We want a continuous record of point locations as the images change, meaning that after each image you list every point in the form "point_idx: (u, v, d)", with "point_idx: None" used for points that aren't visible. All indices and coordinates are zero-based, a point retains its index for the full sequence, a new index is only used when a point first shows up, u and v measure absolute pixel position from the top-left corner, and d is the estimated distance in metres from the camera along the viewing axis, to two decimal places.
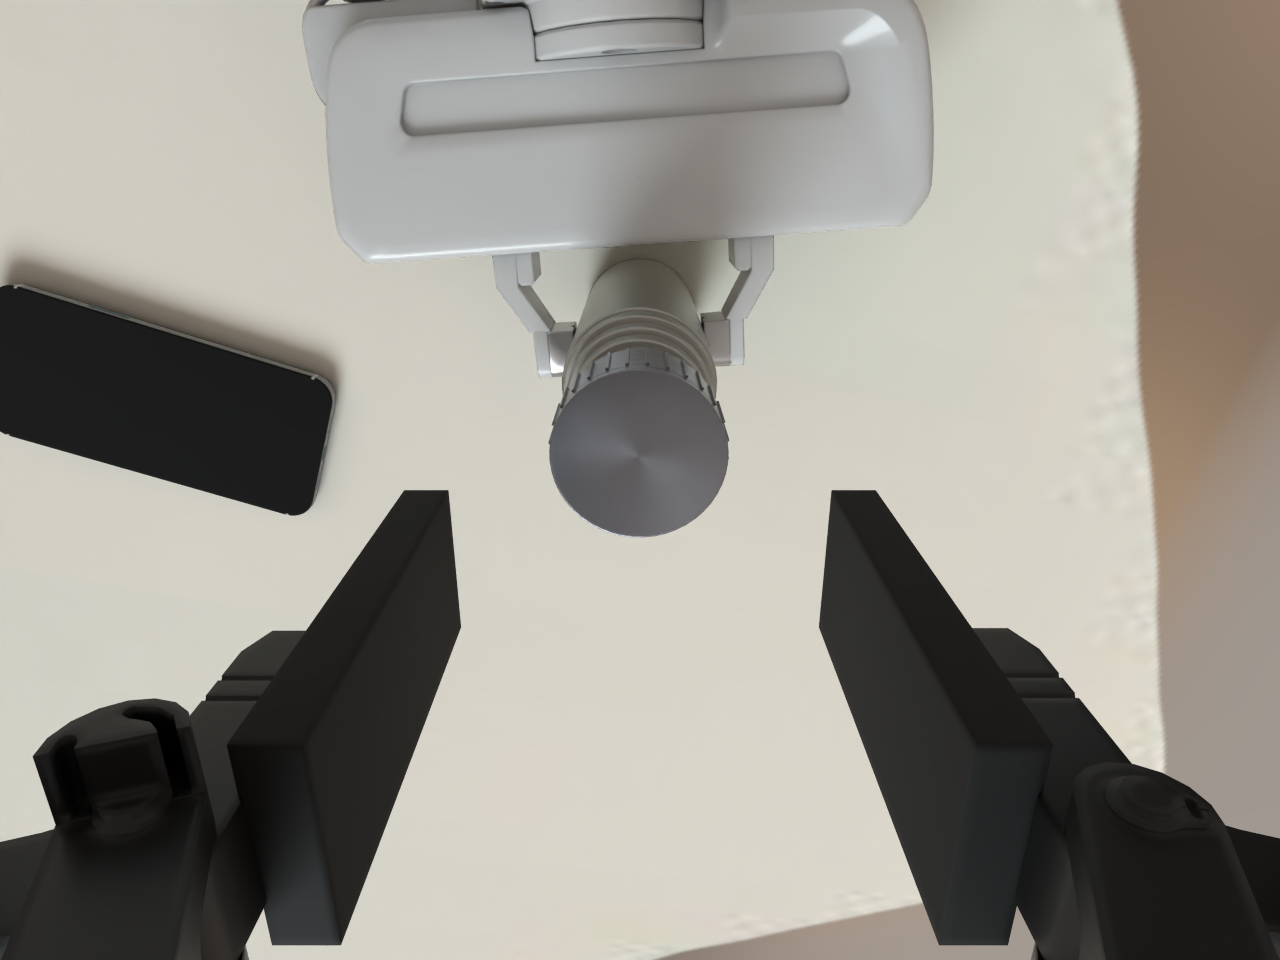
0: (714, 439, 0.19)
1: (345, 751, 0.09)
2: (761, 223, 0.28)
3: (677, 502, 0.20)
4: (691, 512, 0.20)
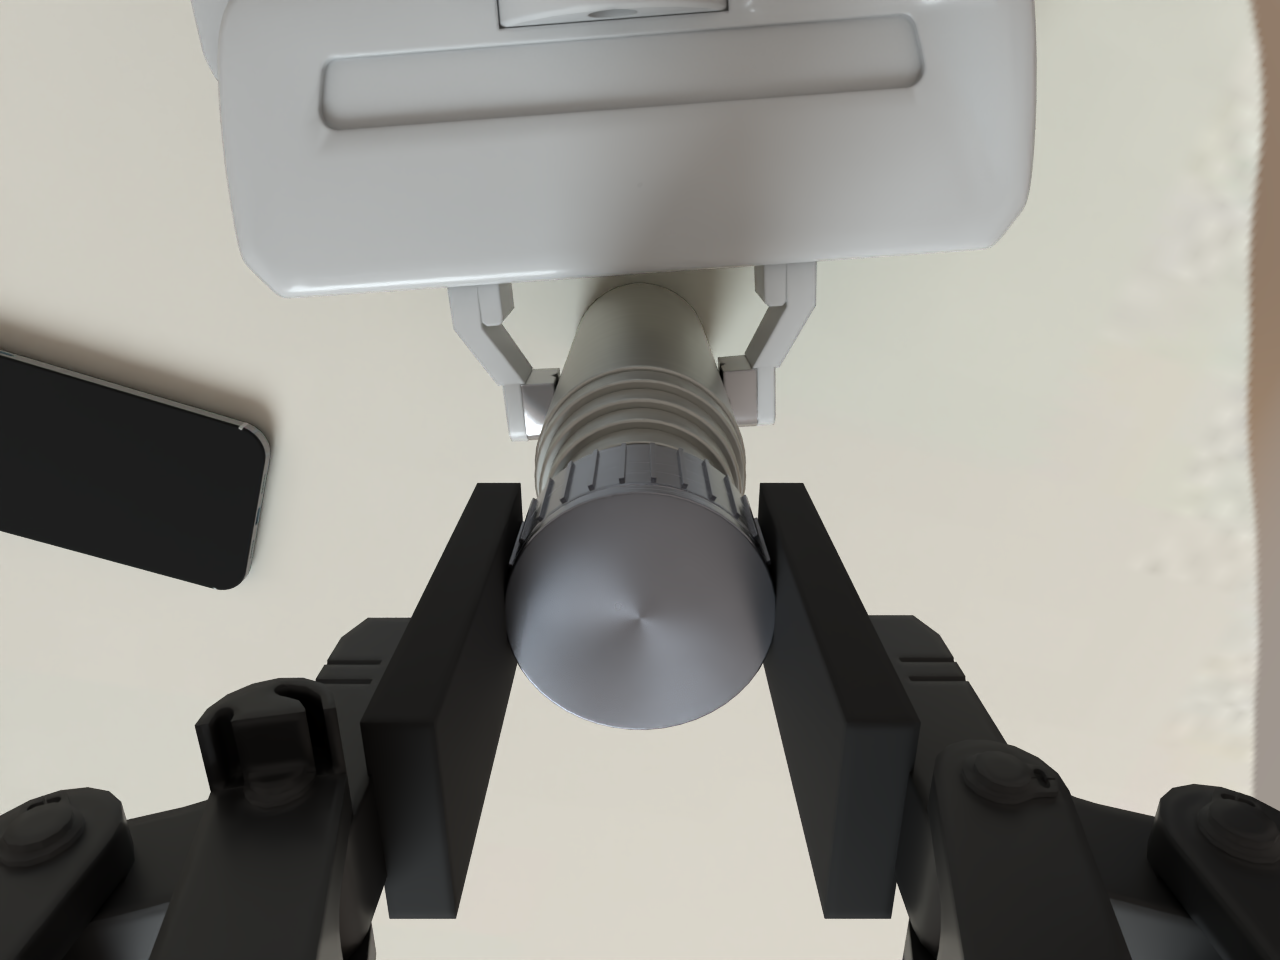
0: (756, 593, 0.13)
1: (457, 732, 0.09)
2: (801, 246, 0.21)
3: (698, 682, 0.13)
4: (719, 695, 0.13)
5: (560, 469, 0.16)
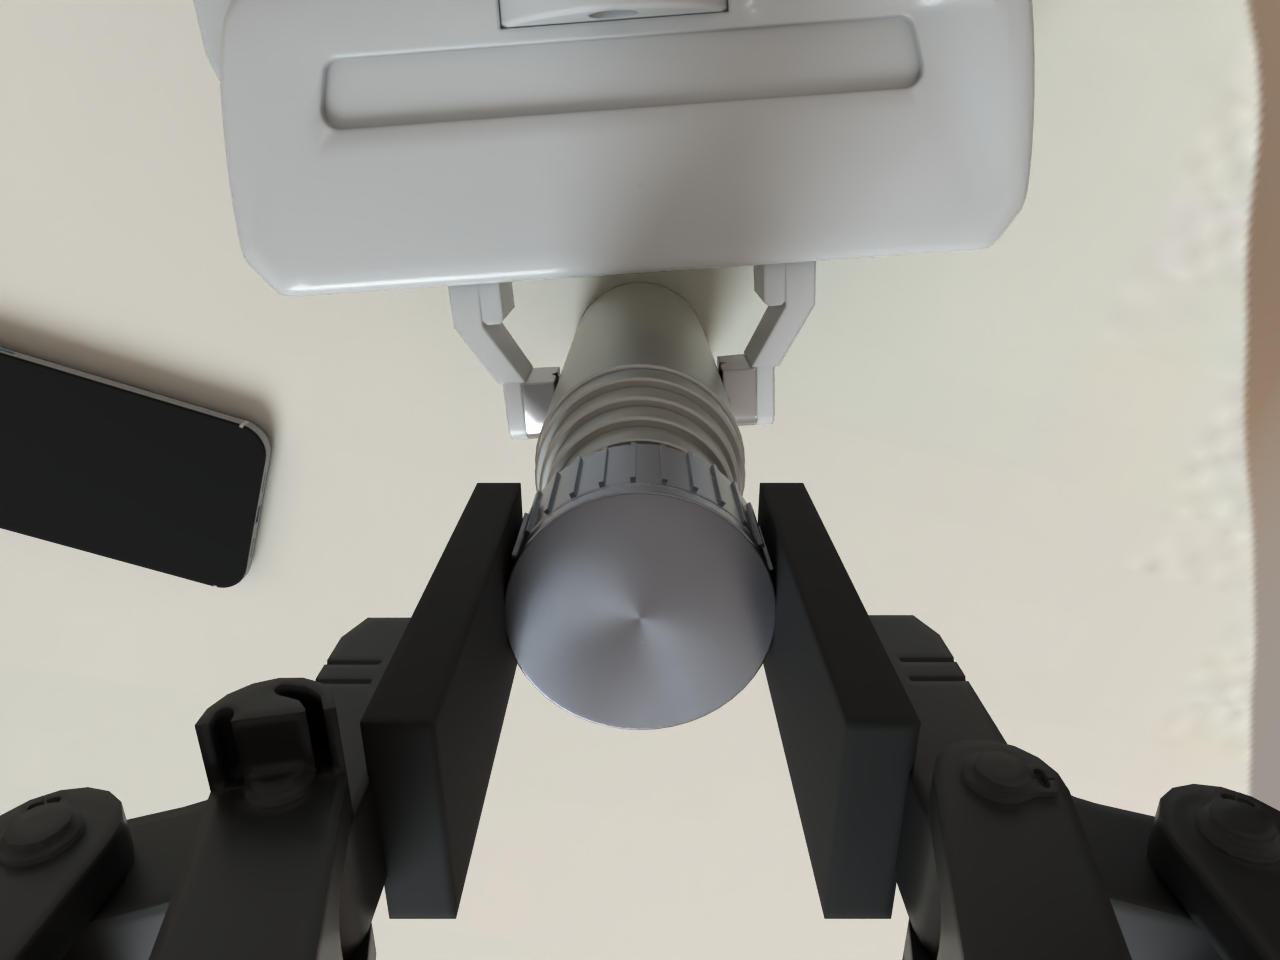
0: (548, 547, 0.12)
1: (458, 732, 0.09)
2: (801, 246, 0.21)
3: (670, 535, 0.12)
4: (673, 506, 0.12)
5: (560, 467, 0.16)
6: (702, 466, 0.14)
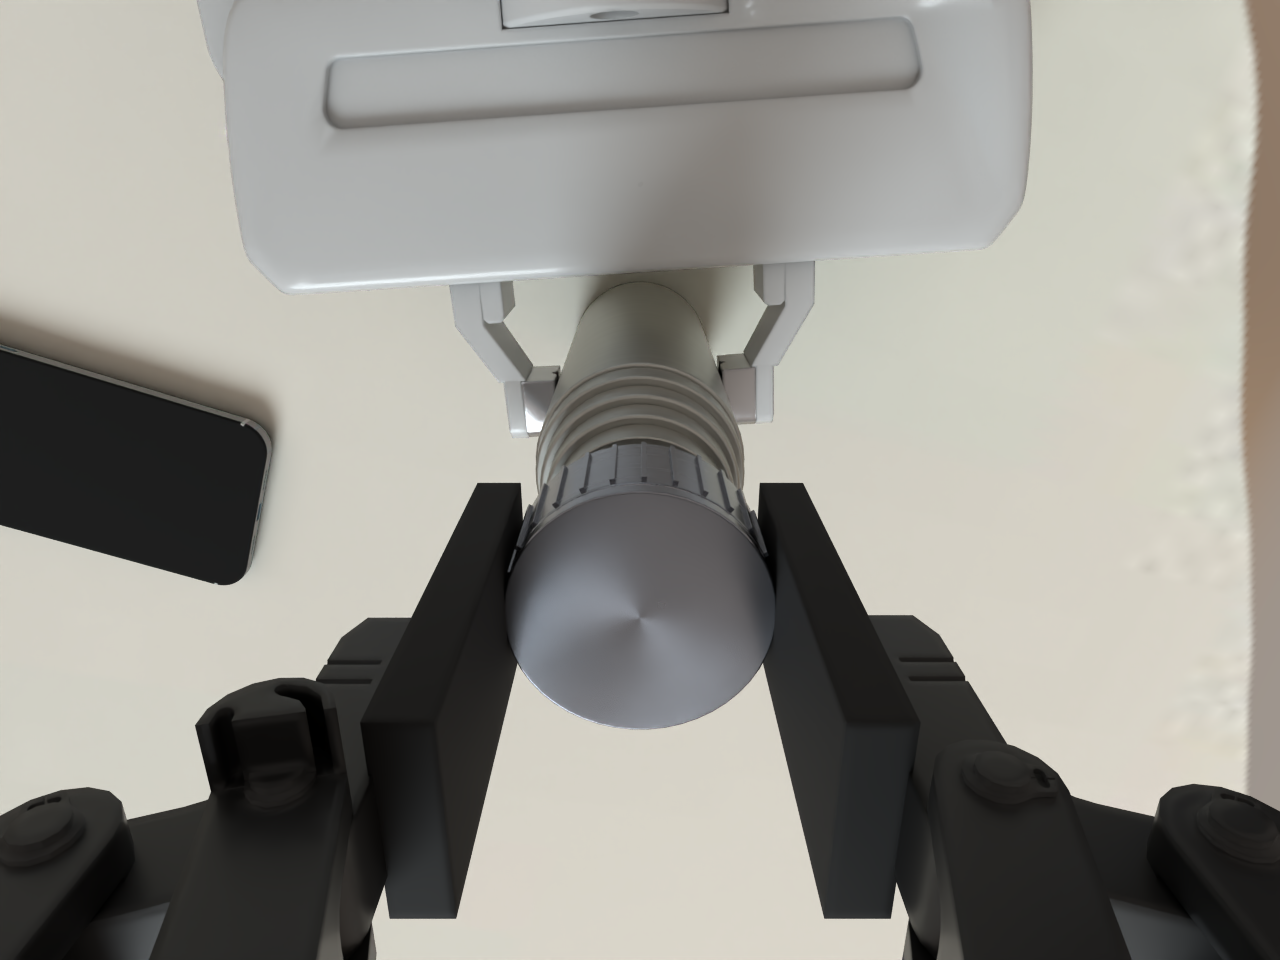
0: (624, 715, 0.13)
1: (458, 732, 0.09)
2: (800, 245, 0.21)
3: (548, 642, 0.13)
4: (524, 652, 0.13)
5: (561, 464, 0.16)
6: None
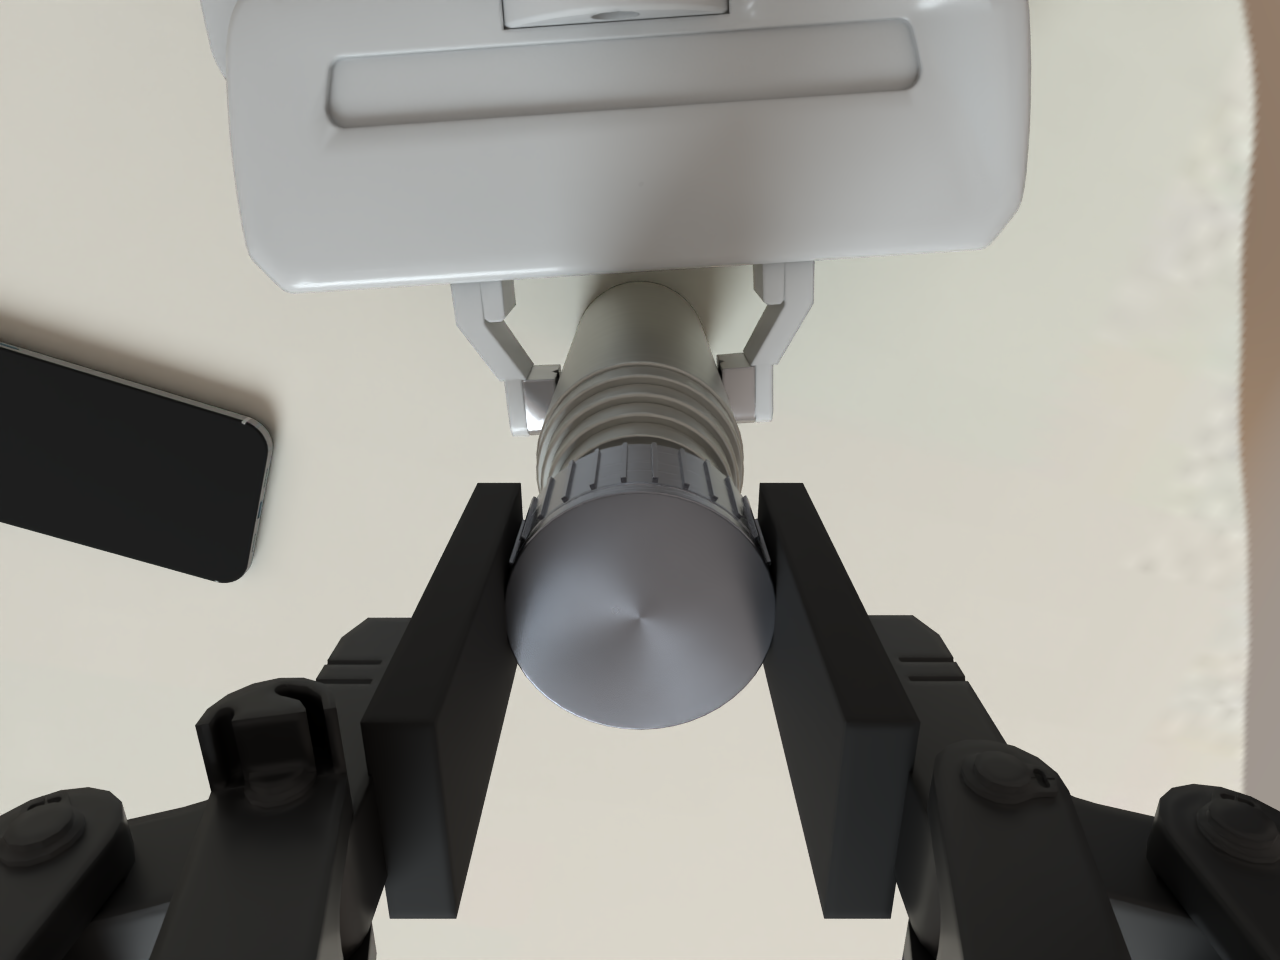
0: (748, 572, 0.12)
1: (458, 732, 0.09)
2: (799, 245, 0.21)
3: (713, 670, 0.13)
4: (737, 679, 0.13)
5: (562, 462, 0.17)
6: None
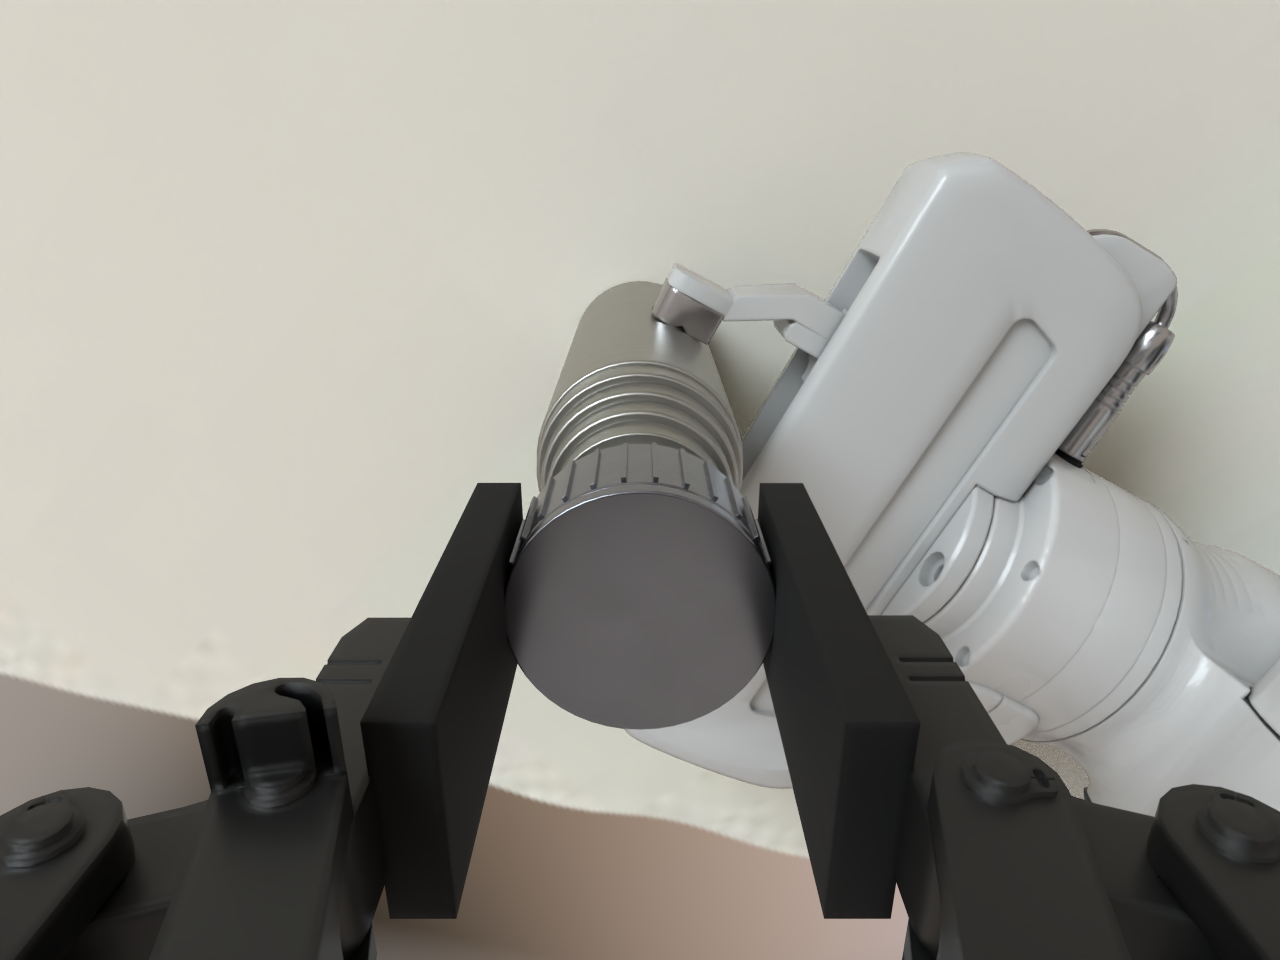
0: (749, 572, 0.12)
1: (459, 732, 0.09)
2: None
3: (712, 670, 0.13)
4: (737, 679, 0.13)
5: (719, 464, 0.17)
6: None
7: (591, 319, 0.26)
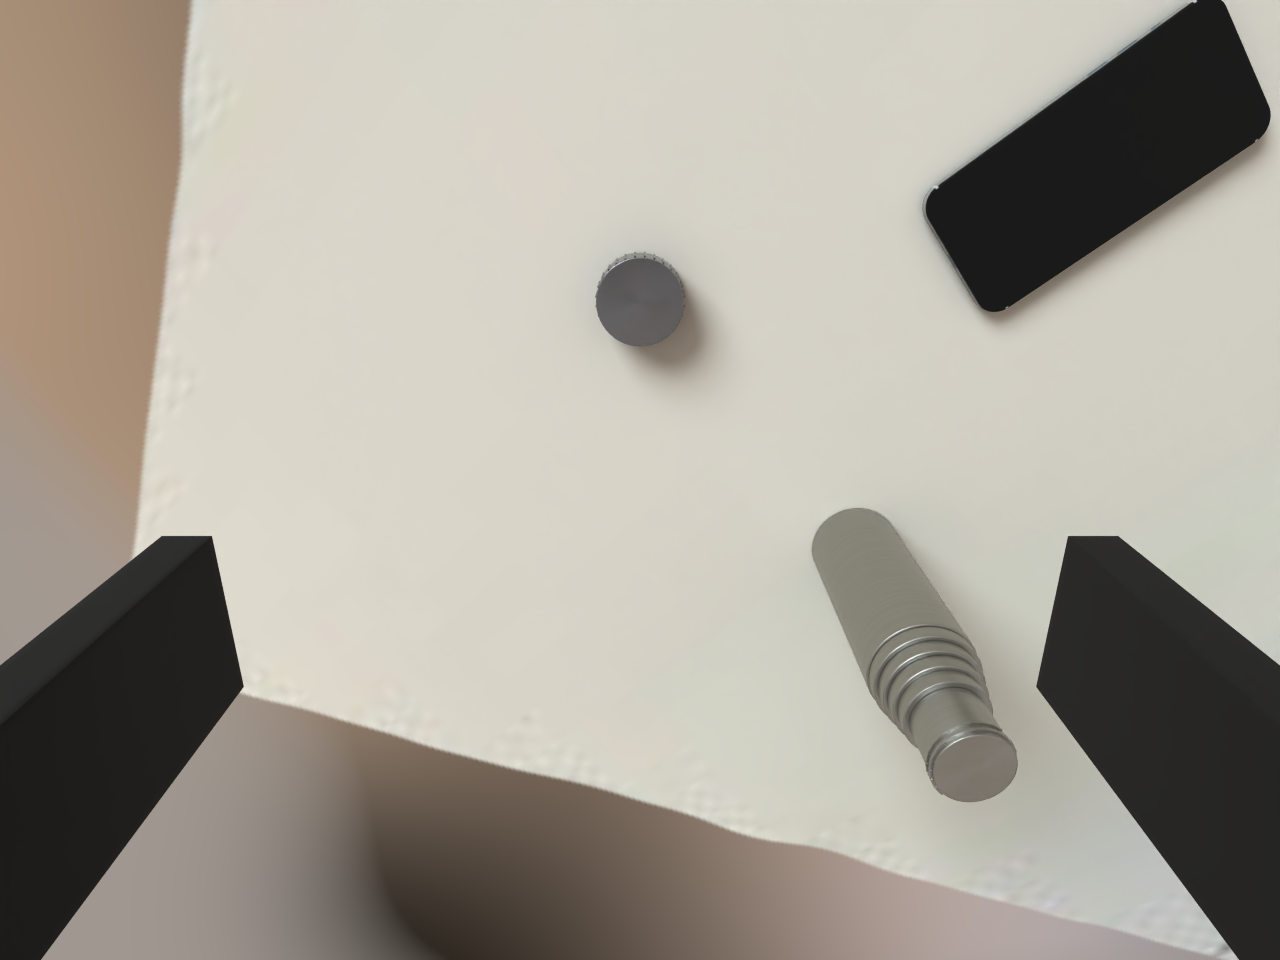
0: (674, 285, 0.40)
1: None
2: None
3: (663, 322, 0.40)
4: (671, 326, 0.40)
5: (984, 691, 0.33)
6: None
7: (851, 551, 0.42)
